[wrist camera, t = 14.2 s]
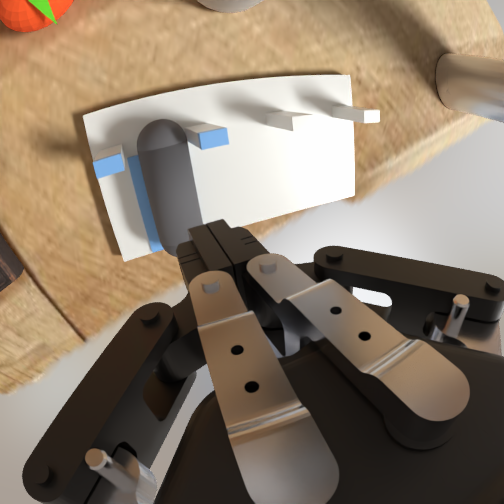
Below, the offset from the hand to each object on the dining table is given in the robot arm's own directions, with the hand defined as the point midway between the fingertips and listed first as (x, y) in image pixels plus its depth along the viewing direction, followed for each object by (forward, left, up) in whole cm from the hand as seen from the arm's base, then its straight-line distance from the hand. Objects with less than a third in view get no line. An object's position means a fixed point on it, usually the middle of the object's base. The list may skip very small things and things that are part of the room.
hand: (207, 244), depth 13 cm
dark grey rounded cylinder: (0, +1, -15) cm, 15 cm away
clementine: (+8, -18, -17) cm, 26 cm away
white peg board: (-7, 0, -17) cm, 18 cm away
